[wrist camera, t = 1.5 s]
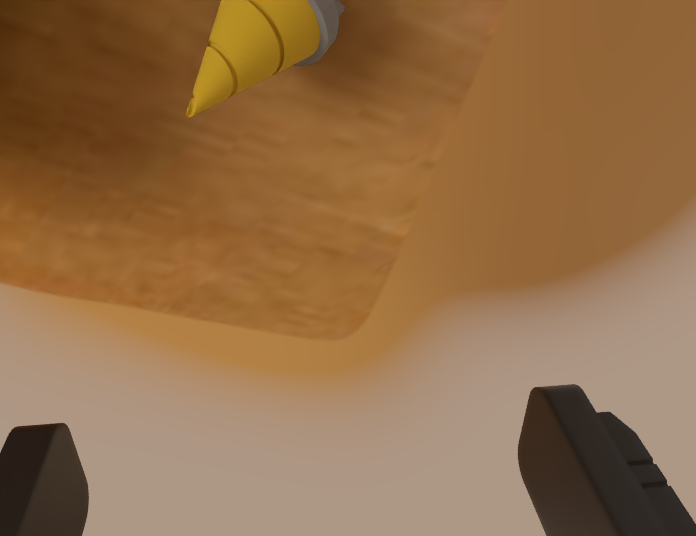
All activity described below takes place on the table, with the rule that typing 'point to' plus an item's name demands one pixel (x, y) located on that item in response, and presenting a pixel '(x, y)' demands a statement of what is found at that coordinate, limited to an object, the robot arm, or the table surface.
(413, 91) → the table surface
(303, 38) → the spiral grooved cone
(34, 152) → the table surface
